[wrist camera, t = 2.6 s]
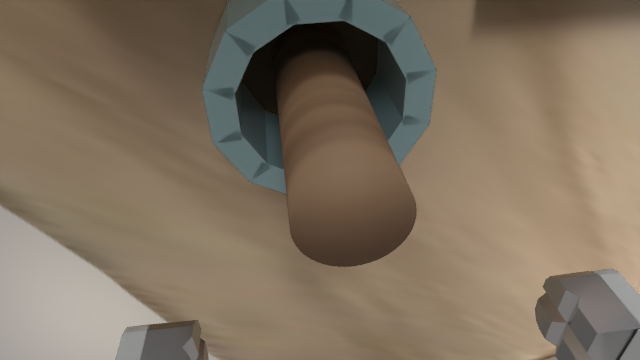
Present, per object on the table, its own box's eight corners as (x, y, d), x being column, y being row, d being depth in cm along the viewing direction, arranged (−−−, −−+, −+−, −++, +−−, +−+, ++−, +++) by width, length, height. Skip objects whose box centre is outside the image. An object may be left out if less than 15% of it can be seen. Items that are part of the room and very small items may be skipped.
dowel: (269, 26, 21) (284, 177, 11) (345, 20, 21) (422, 163, 12) (276, 96, 23) (294, 272, 14) (345, 90, 23) (410, 259, 14)
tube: (196, -35, 19) (182, -3, 15) (408, -49, 20) (447, -22, 16) (230, 147, 25) (226, 206, 21) (394, 132, 25) (421, 185, 21)
